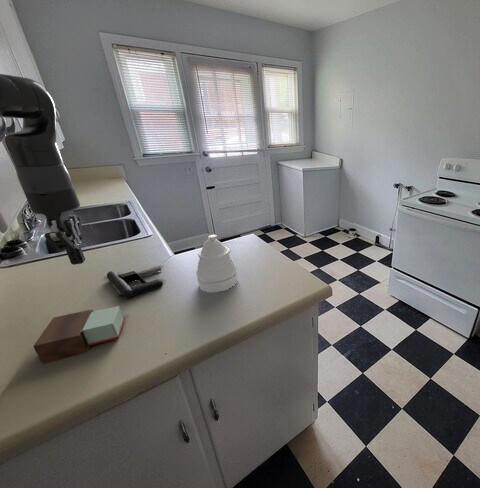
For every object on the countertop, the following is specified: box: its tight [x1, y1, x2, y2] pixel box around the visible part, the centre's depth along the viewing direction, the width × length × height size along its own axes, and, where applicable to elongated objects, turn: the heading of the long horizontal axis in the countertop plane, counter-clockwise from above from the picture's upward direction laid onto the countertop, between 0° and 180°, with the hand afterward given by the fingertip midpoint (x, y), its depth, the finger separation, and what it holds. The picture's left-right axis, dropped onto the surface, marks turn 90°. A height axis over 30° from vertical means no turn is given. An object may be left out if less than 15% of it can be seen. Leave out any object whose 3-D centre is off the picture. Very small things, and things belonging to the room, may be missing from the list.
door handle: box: [105, 265, 164, 299], centre depth 94 cm, size 3×20×16 cm
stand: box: [33, 309, 94, 364], centre depth 66 cm, size 8×11×5 cm
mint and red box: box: [82, 305, 125, 347], centre depth 69 cm, size 6×8×5 cm
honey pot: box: [195, 234, 239, 293], centre depth 91 cm, size 13×13×18 cm
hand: (78, 262), depth 62 cm, fingers closed
